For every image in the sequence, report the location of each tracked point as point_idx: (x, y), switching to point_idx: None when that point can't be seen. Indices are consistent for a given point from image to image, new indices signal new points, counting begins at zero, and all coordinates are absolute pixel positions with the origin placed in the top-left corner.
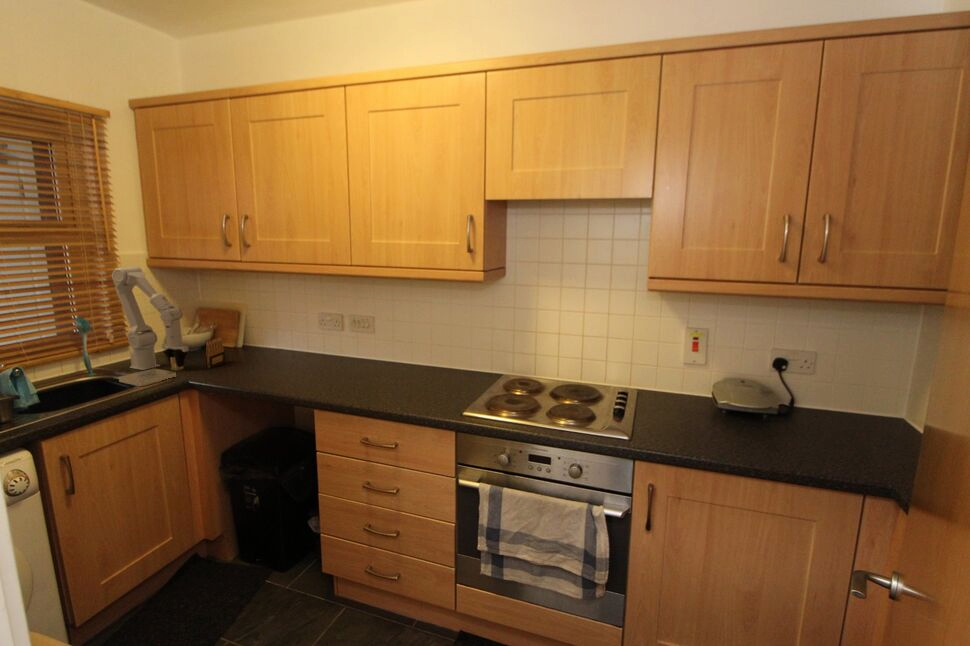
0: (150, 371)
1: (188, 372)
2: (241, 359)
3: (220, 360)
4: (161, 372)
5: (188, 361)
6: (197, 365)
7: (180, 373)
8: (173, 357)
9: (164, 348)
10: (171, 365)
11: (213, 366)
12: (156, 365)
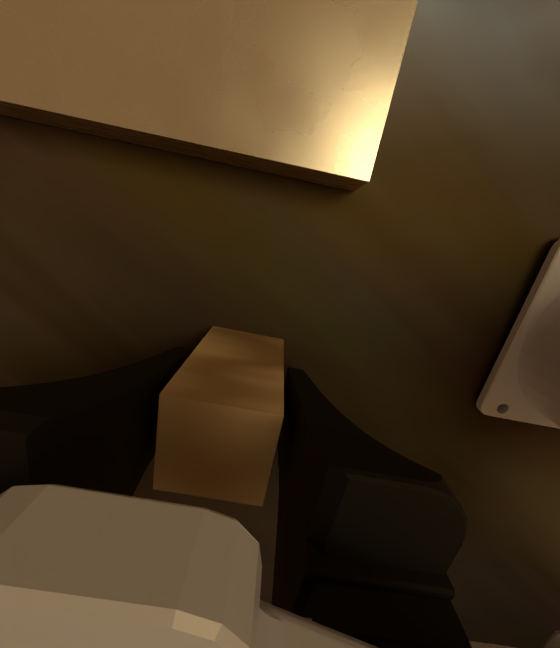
0: (287, 5)
1: (42, 299)
2: None
3: None
4: (73, 2)
5: None
6: None
7: (78, 250)
8: (227, 423)
9: (552, 638)
10: (278, 356)
11: None
12: (509, 388)
